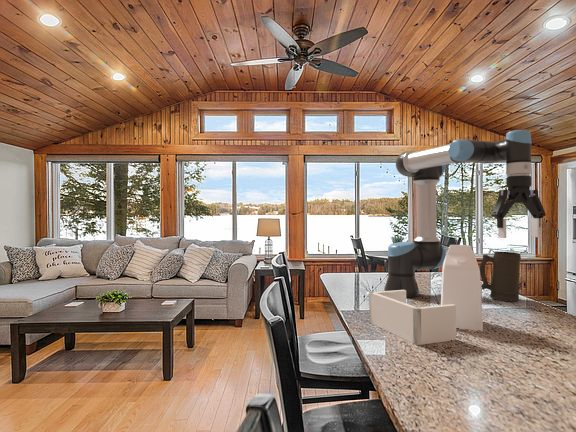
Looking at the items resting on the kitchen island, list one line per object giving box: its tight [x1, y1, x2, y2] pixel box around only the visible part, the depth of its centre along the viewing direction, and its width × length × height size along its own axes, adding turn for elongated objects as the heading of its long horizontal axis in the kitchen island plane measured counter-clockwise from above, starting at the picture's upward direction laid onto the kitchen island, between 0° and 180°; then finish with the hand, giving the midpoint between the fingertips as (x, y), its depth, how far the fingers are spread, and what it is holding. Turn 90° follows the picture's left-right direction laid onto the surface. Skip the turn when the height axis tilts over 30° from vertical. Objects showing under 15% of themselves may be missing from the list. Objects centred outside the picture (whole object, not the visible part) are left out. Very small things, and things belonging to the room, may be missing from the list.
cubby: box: [368, 290, 457, 346], centre depth 123 cm, size 25×14×10 cm, turn 19°
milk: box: [440, 244, 484, 332], centre depth 129 cm, size 12×12×26 cm
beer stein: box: [479, 251, 522, 303], centre depth 166 cm, size 15×11×20 cm
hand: (518, 237), depth 136 cm, fingers open, 13 cm apart
